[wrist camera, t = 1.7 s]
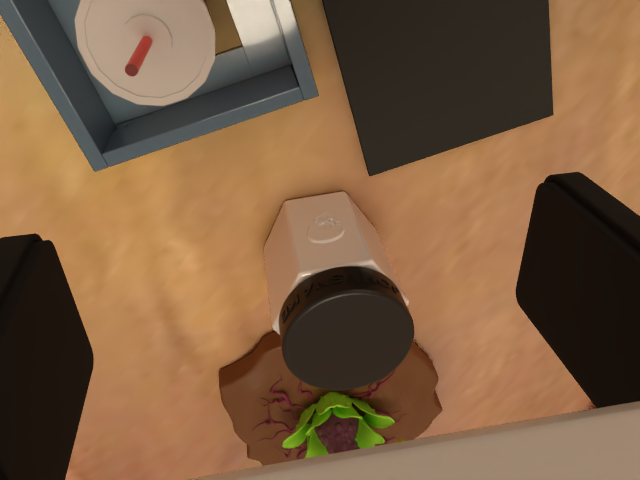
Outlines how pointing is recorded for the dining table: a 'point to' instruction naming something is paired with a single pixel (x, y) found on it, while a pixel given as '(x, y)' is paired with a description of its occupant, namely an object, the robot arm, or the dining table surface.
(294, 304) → the jar
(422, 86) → the mat
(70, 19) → the blue-grey open box
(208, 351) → the dining table surface
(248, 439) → the plant
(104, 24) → the beverage cup
